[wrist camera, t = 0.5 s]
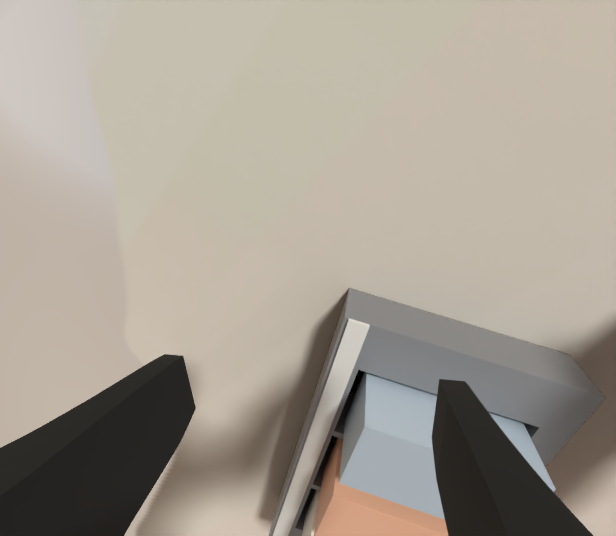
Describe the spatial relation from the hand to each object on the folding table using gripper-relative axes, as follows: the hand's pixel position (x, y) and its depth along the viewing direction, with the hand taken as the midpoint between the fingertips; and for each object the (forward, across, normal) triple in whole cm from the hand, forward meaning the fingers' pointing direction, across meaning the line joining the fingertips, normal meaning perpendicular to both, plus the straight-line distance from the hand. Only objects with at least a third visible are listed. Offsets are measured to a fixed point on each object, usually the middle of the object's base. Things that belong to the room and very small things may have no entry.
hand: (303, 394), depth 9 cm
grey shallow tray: (+10, -4, +13) cm, 16 cm away
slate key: (+7, -5, +8) cm, 12 cm away
